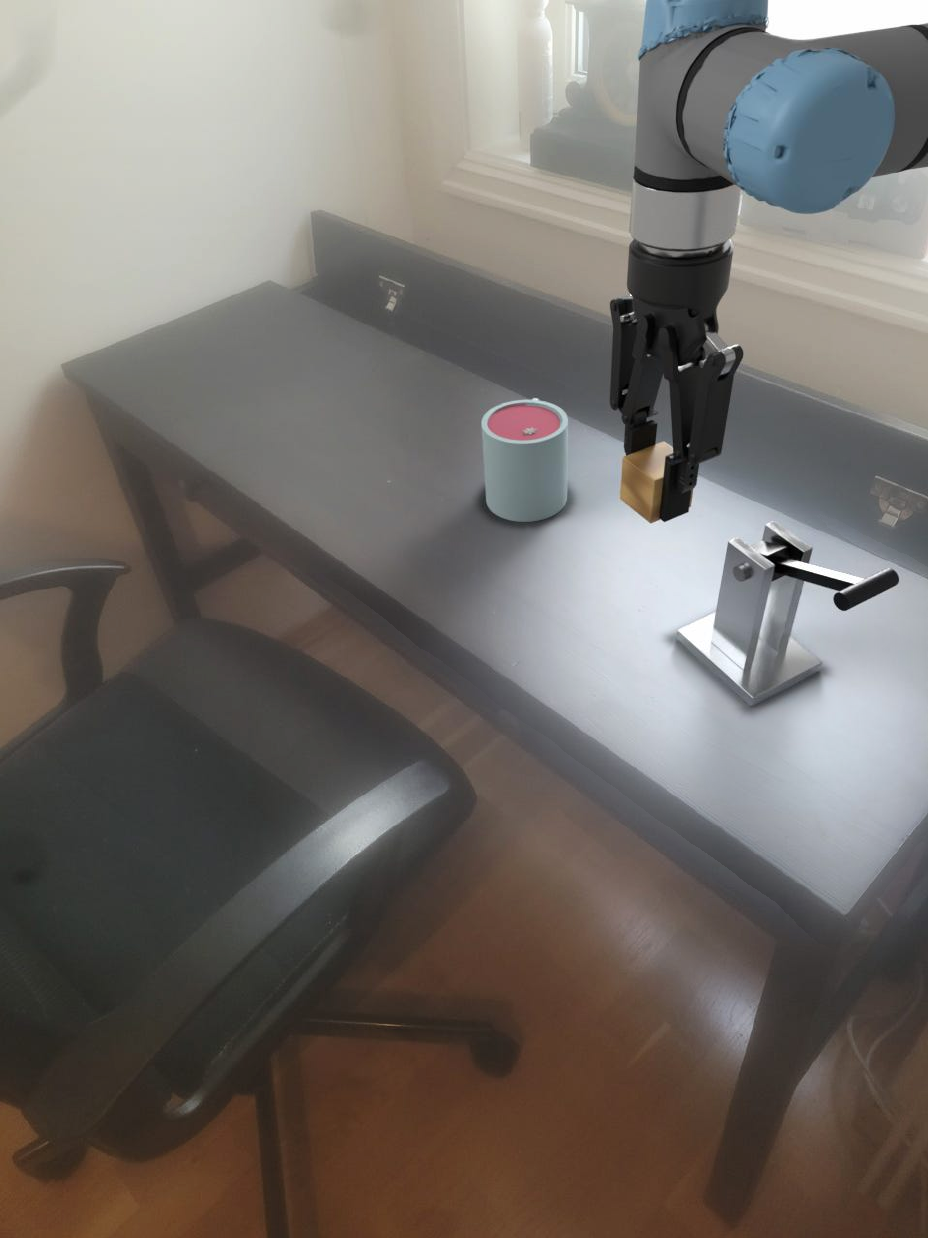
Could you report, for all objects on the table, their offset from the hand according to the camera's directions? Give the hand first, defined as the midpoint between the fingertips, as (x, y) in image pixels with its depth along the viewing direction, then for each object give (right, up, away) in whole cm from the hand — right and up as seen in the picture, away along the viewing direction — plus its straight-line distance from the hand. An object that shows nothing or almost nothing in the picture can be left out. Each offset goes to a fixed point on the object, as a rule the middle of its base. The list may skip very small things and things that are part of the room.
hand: (655, 500), depth 79 cm
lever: (+10, -8, -11) cm, 17 cm away
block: (0, 0, 0) cm, 0 cm away
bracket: (+8, -14, 0) cm, 16 cm away
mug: (-10, +4, +22) cm, 25 cm away
